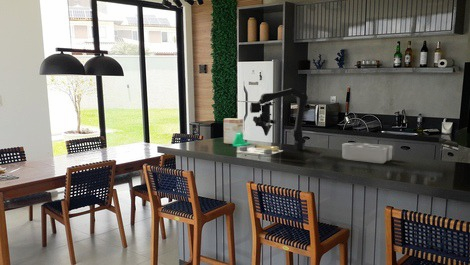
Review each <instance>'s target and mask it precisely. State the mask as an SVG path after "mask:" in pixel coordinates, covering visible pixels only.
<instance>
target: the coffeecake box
mask: <svg viewBox="0 0 470 265" xmlns="http://www.w3.org/2000/svg"><path fill="white" fill-rule="evenodd" d="M237 133H243V134H244V119H243V118H233V117H232V118H230V117H228V118H223V143H224V144H228V145H233V142H234V140H235V137H236V134H237Z"/></svg>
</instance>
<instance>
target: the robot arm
mask: <svg viewBox="0 0 470 265" xmlns="http://www.w3.org/2000/svg"><path fill="white" fill-rule="evenodd" d="M285 96H286V97H287V96H293V97H294V98H295V99H296V104H297V108H296V115H295V116H296V117H295V122H294V123H295V124H294V128H293V129H292V128H291V133H290V136H291V139H292V140H293V141H294V143H293V150H296V151H304V150H306V149H305V146H306V139H305V138H304V137H303V130H302V125H303V120H304V119H303V118H304V113H305V112H304V110H305V107H306V105H307V103H308V100H309V99H308V98H309V97H308V96H309V95H307V93H303V92H301V91H299V90H297V89H296V88H292V87H291V88H288V89H284V90H279V91H276V92H275V91H274V92H269V93H268V92H266V93H262V94H261V95H260V99H259V100H258V101H257V102H250V105H249V111H250V113H251V114H256V113H258V114H259V113H260V112H261V113H260V114H259V116H256V115H255V116H253V117H252V121H253V122H254V123H255V127H261V128H262V131H263V132H264V136H265V137H266V136H268V135H269V132H270V130H271V128H272V126H273V125H276V124H277V121H276V119H271V116H272V113H271V106H273V105H274V103H272V101H274V100H275V99H279V98H282V97H283V98H284V97H285ZM272 124H273V125H272Z"/></svg>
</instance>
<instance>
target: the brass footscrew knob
mask: <svg viewBox="0 0 470 265" xmlns="http://www.w3.org/2000/svg"><path fill="white" fill-rule="evenodd" d="M253 146H254V147H253V148H259V149H272V151H279V150H280V147H279V146H278V145H277V146H276V145H274V146H273V145H264V144H263V145H262V144H254V145H253Z"/></svg>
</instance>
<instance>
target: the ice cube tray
mask: <svg viewBox="0 0 470 265" xmlns="http://www.w3.org/2000/svg"><path fill="white" fill-rule="evenodd" d="M341 146H342V150H341V152H342V154H341V155H342V156H341V157H342V159H344V160H349V161H356V162H363V163H364V162H366V163H373V164H384V163H386V162H387V161H388V162H389V161H392V158H393V148H394V146H393V145H390V144H389V145H387V144H377V143H365V142H346V143H342V144H341Z"/></svg>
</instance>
